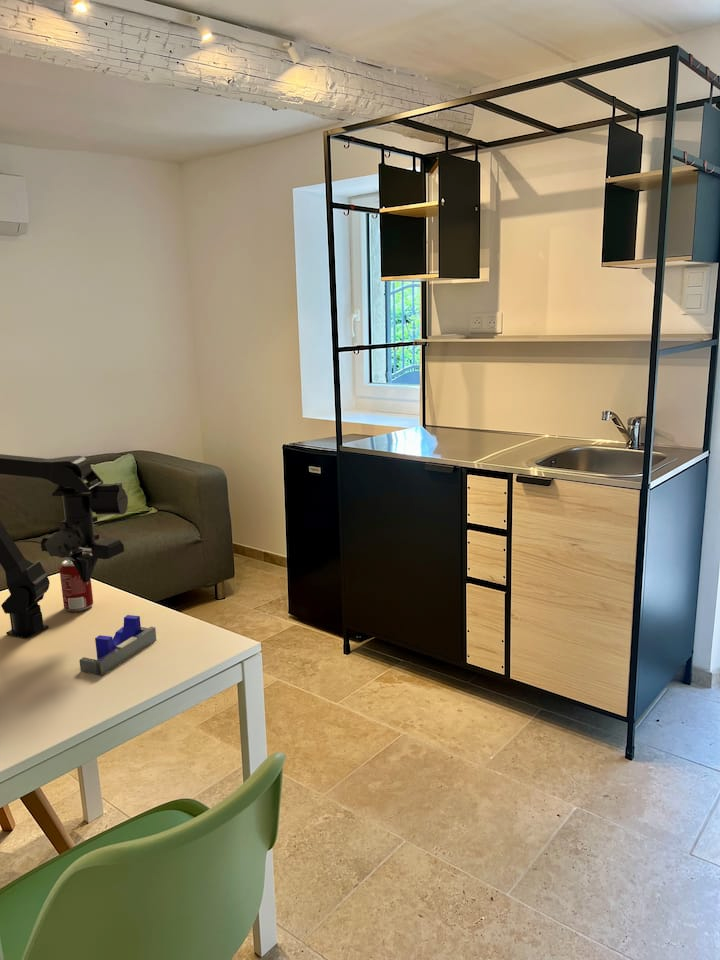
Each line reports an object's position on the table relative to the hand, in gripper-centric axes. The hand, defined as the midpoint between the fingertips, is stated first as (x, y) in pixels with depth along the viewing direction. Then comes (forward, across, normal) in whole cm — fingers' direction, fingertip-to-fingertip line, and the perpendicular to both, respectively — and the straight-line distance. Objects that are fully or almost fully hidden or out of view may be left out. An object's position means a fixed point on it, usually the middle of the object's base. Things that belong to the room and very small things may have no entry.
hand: (86, 581), depth 163 cm
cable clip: (+12, +12, -6) cm, 19 cm away
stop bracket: (+12, +14, -7) cm, 20 cm away
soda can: (+12, -13, +10) cm, 20 cm away
